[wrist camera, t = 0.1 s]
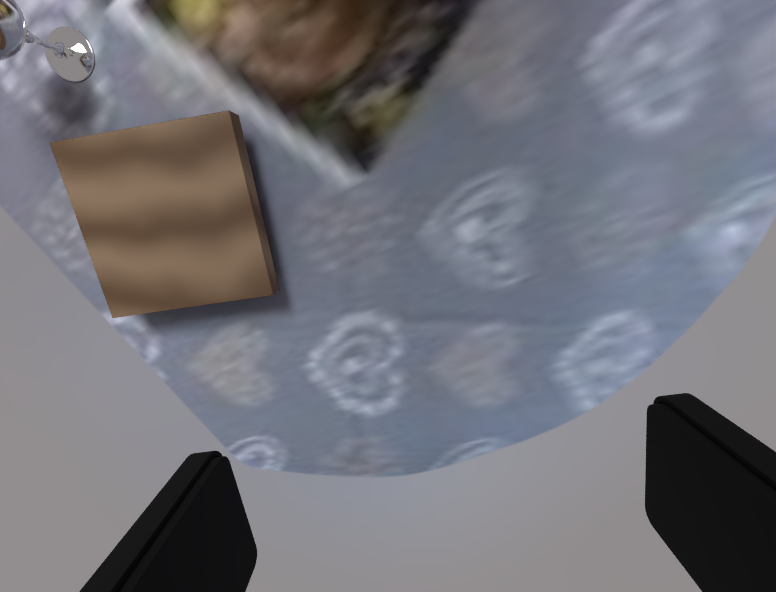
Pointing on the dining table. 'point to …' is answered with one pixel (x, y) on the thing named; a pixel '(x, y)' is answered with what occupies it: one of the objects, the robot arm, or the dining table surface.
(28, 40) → the wineglass
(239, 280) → the stand
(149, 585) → the robot arm
